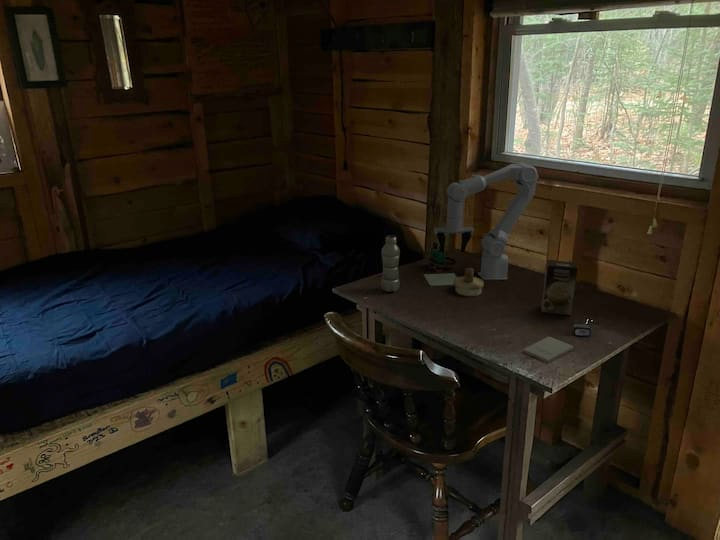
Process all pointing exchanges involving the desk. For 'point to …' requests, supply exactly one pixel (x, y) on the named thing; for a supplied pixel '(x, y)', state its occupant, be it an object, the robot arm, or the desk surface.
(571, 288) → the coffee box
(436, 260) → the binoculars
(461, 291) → the bowl
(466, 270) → the lid
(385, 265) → the plastic bottle
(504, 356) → the desk surface
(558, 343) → the external hard drive
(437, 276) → the mat
